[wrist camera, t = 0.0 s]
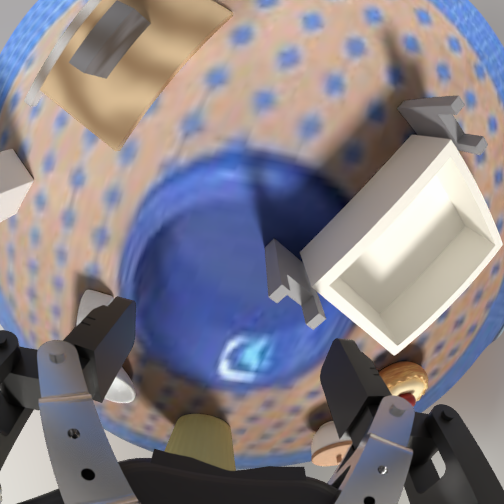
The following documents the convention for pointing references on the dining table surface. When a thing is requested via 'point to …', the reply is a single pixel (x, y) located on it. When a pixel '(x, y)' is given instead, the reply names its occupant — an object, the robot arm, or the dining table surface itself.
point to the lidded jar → (328, 446)
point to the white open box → (398, 236)
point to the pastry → (405, 380)
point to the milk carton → (12, 183)
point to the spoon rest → (122, 383)
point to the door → (123, 60)
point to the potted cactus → (203, 440)
